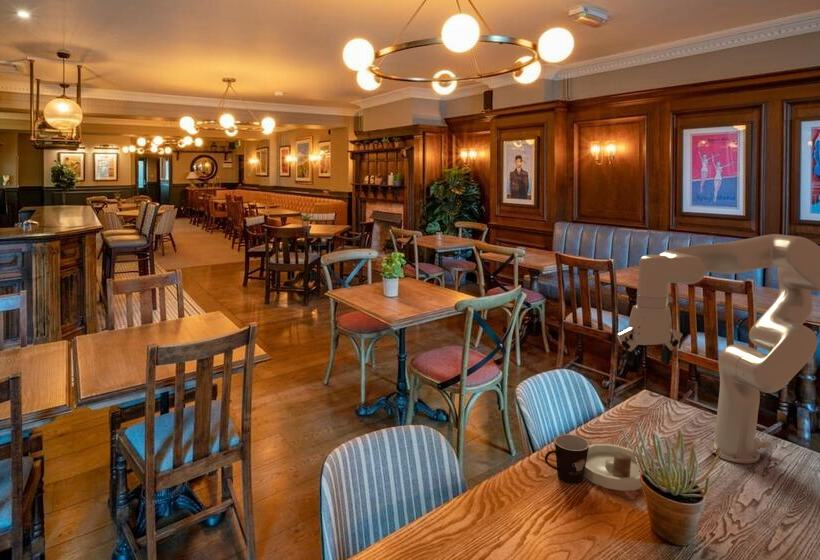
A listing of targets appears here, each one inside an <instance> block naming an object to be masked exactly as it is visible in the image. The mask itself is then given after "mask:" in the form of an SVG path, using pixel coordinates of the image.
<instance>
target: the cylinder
mask: <svg viewBox="0 0 820 560" xmlns="http://www.w3.org/2000/svg"><path fill="white" fill-rule="evenodd" d="M630 468H631V457H630V456H628V455H626V454H622V453H618V454H615V455H614V469H613V476H614V477H620V478H627V477H630Z"/></svg>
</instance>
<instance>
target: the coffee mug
mask: <svg viewBox="0 0 820 560" xmlns="http://www.w3.org/2000/svg"><path fill="white" fill-rule="evenodd" d="M589 445H590V442H589V441H588V440H587V439H586V438H584V437H582V436H579V435H577V434H570V433H568V434H559V435H557V436H556V437H555V438H554V448H555V450H554V449H553V450H549V451H548V452H547V453H546V454H545V456H544V463H545V464H546V465H548V466H549V468H552V469H554V470H556V472H557V474H556V475H557V479H559V480H560V481H561V482H563V483H565V484H569V485H579V484H580V483H582V482H583V480H584V470H585V465H586V460H587V454H588V449H589ZM551 454H555V460H556V461H555V463H556V466H554V465H552V464H550V463H549V461H548V457H549V456H550V455H551Z"/></svg>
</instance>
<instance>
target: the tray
mask: <svg viewBox="0 0 820 560" xmlns="http://www.w3.org/2000/svg"><path fill="white" fill-rule="evenodd" d="M618 453H622V454H626V455H628V456H630V457H631V468H630V477H627V478H620V477H614V476H613V469H614V455H615V454H618ZM583 478H585V479H587V480H588V481H589V482H590V483H592V484H594V485H597V486H600V487H602V488H605V489H611V490H616V491H619V492H620V491H621V492H623V491H624V492H625V491H626V492H627V491H637V490H640V489H642V488H641V483H640V472H639V467H638V465H637V462H636V458H635V457H634V455H633V449H631V448H627V447H625V446H623V445H619V444H618V445H617V444H611V443H592V444H589V449H588V454H587V460H586V465H585V470H584V476H583Z"/></svg>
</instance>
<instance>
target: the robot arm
mask: <svg viewBox="0 0 820 560" xmlns="http://www.w3.org/2000/svg"><path fill="white" fill-rule="evenodd" d="M638 263H639V264H638V278H637V290H636V304H635V305H633V306H632V309H631V311H630V316H629V319H628V320H629V321H628V325H627V328H626V329H623V331H621V332H618V333H617V334H616V337H617V339H618V342H619V344H620V345H621V346H622V347H623V348H624V349H625V356H624V359H625V362H626V363H627V364H628V366H631V367H632V366H634V365H635V357H636V355H635V354H636V352H635V351H634V350H635V349H636V347H638V345H639V346H640V345H641V346H643V345H644V346H647V345H650V346H651V345H663V347H661V353H660V361H661V362H662V363H663V364H665V365H667V366H669V365H670V363H671V360H672V351H674V349H675V347H676V346H677V345H678V344H679V342H680V340H681V339H682V337H683V333H682V332H680V331H678V330H677V329H674V328H672V326H673V325H672V324H673V323H672V321H673V320H672V313H671V307H669V306H670V305H669V303H673V300H674V298H673V296H671V297H670V295H669V294H670V284H681V285H682V284H683V285H693V284H697V283H699V282H700V281H702V280H703V279H704V278H705V276H706V274H707V273H715V274H723V275H724V274H729V275H730V274H731V275H732V274H742V273H745V272H746V273H747V272H750V271H756V270H761V269H766V268H772V267H777V271H776V272H777V273H776V274H777V278H778V289H779V290H778V294H777V297H776V299H775V300H774V301H773V303H772V304H771V305H770V306H769V307H768V309H766V310H765V312H764V313H763V314H762V315H761V316H760V317H759V318H758V319H757V320H756V322H755V323H754V324H753V325H752V326H751V328H750V330H749V332H748V337H749V340H750V342H751V343H752V344H754V345H755V346H756V347H758V348H760V349H762V350H765V351H766V352H768V353H765V352H763V351H761V350H759V349H756V348H753V347H751V346H748V345H744V344H739V343H738V344H737V343H735V344H729V345H728V346H725V348H723V349H722V350H721V352H720V353H719V357H718V361H717V362H718V372H719V394H718V402H717V411H716V413H717V414H716V422H715V431H714V438H712V439H710V440H709V441H708V442H707V449H708V450H709V451H710V452H711V454H713V453H715V452H716V450H717V449H718V448H720V449H721V456H720V457H719V458H720V459H723V460H726V461H728V462H732V463H738V464H747V465H749V464H753V463H757V462H758V461H759V460H760V457H761V456H760V455H761V454H760V452H759V450H760V449H768V448H769V449H770V448H771V446H772V444H771V442H770V441H769V440H760V438H759V437H756V434H757V433H756V432H757V424H758V415H759V407H760V399H761V396H760V395H761V394H760V392H761V393H765V394H766V393H767V394H771V393H776V392H778V391H780V390H782V389H783V388H785V386H787V384H789V382H791V381H792V379H793V378H794V377H795V376H796V375H797V374H798V373H799V372H800V371H801V370H802V368H803V367H805V365H806V364H807V363H809V361H810V360H811V358H812V357H813V356H814V354H815V352H816V350H817V347H818V337H817V335H816V333H815V332H814V331H813V330H812V329H811V328H809V327H807V326H806V325H803V324H805V322H806V321H807V320H808V319H809V317H810V316H811V315H812V311H813V307H814V306H813V305H814V303H813V295H812V292H817V293H820V245H819V244H817V243H816V242H814V241H812V240H811V239H808V238H807V237H804V236H797V235H787V234H780V233H779V234H777V233H772V234H771V233H770V234H766V235H765V234H764V235H760V236H755V237H751V238H746V239H745V238H744V239H740V240H735V241H729V242H718V243H710V244H699V245H690V246H683V247H677V248H672V249H667V250H665V251H663V252H661V253H660V254H645V255H642V256H641V257H640V258H639V262H638ZM672 334H673V338H672ZM626 338H627V339H628V340H627V341H626Z"/></svg>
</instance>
